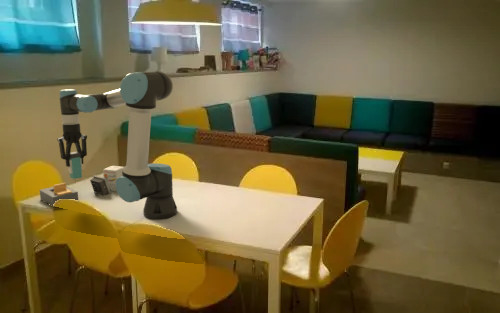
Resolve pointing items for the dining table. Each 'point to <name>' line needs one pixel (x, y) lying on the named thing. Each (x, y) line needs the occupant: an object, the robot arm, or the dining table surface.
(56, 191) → the panel
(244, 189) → the dining table surface
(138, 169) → the robot arm
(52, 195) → the socket
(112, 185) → the ink box
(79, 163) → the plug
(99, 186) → the electrical switch
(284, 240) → the dining table surface
